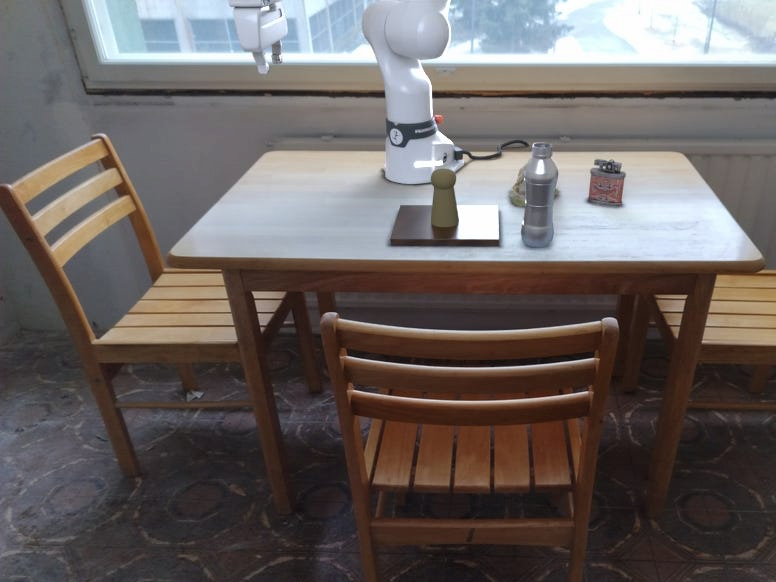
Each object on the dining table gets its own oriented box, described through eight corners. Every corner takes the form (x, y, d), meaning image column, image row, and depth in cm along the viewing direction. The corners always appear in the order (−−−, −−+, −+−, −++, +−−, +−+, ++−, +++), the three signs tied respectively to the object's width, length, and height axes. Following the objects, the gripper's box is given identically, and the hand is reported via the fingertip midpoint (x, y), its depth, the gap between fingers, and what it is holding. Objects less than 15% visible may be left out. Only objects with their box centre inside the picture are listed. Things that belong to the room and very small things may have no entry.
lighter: (623, 203, 151) (629, 160, 145) (619, 208, 148) (625, 164, 142) (589, 198, 153) (594, 155, 148) (585, 202, 151) (589, 159, 145)
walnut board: (498, 212, 146) (498, 205, 145) (499, 246, 132) (499, 239, 131) (400, 211, 147) (400, 204, 146) (390, 246, 132) (389, 238, 131)
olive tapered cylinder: (455, 228, 135) (454, 176, 129) (427, 225, 136) (424, 174, 130) (462, 217, 140) (461, 166, 134) (435, 214, 141) (432, 164, 135)
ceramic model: (514, 184, 161) (515, 143, 155) (559, 187, 159) (562, 146, 153) (504, 205, 149) (505, 162, 144) (553, 209, 148) (556, 165, 142)
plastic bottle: (518, 238, 135) (521, 140, 123) (550, 237, 135) (557, 139, 124) (522, 251, 130) (526, 151, 118) (556, 250, 130) (563, 150, 119)
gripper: (258, -15, 134) (271, 58, 142) (223, -3, 118) (239, 78, 126) (288, -15, 134) (299, 58, 142) (258, -3, 118) (272, 79, 126)
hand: (271, 68), depth 134 cm, fingers open, 8 cm apart
